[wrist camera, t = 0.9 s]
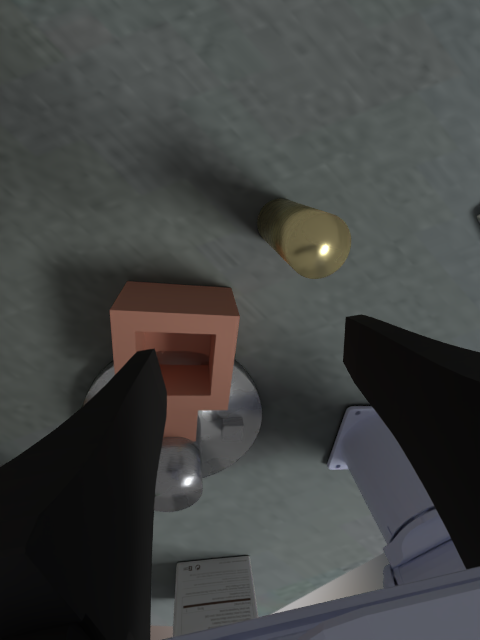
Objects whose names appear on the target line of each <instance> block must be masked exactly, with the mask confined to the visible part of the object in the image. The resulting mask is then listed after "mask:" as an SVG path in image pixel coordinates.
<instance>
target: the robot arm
mask: <svg viewBox="0 0 480 640" xmlns="http://www.w3.org/2000/svg"><path fill="white" fill-rule="evenodd" d="M343 362H344V364H345V366H346V368H347V370H348V372H349V374H350V376H351V377H352V379H353V381H354V383H355V384H356V386H357V387H358V388H359V390H360V391H361V392H362V394H363V395H364V397H365V398H366V399H367V401H368V402H369V403H370V405H371V406H351V407H349V408H347V410H346V412H345V415H344V418H343V420H342V423H341V426H340V429H339V432H338V435H337V437H336V440H335V443H334V446H333V449H332V452H331V454H330V457H329V460H328V463H327V466H328V468H329V469H331V470H337V469H349V471H350V473H351V475H352V477H353V478H354V480H355V482H356V484H357V486H358V488H359V490H360V492H361V494H362V496H363V498H364V500H365V502H366V504H367V506H368V508H369V510H370V512H371V514H372V515H373V517H374V519H375V521H376V523H377V525H378V527H379V529H380V531H381V533H382V535H383V537H384V539H385V541H386V543H387V546H385V547H384V548H383V550H384V553H385V554H386V557H387V558H388V561H389V563H390V564H388V565H386V566H385V567H384V570H383V575H384V579H383V587H384V589H380V590H375V591H371V592H367V593H362V594H358V595H354V596H350V597H345V598H340V599H336V600H332V601H327V602H324V603H319V604H315V605H311V606H306V607H302V608H298V609H293V610H289V611H284V612H280V613H275V614H271V615H267V616H262V617H258V618H254V619H249V620H245V621H241V622H236V623H232V624H228V625H223V626H219V627H215V628H210V629H206V630H202V631H197V632H193V633H189V634H184V635H180V636H176V637H171V638H168V639H163V640H480V352H476V351H472V350H468V349H464V348H460V347H457V346H453V345H450V344H446V343H443V342H440V341H437V340H434V339H431V338H428V337H425V336H422V335H419V334H416V333H413V332H410V331H408V330H405V329H402V328H399V327H397V326H394V325H391V324H389V323H386V322H383V321H381V320H378V319H375V318H372V317H369V316H365V315H356V316H350V317H346V323H345V339H344V355H343ZM166 416H167V390H166V387H165V383H164V380H163V376H162V373H161V369H160V366H159V362H158V359H157V355H156V352H155V348H154V349H147V350H141V351H137V352H136V353H135V354H134V355H133V356H132V357H131V358H130V359H129V360H128V361H127V363H126V364H125V365H124V366H123V367H122V368H121V369H120V370H119V371H118V372H117V373H116V374H115V375H114V376H113V378H112V379H111V380H110V381H109V382H108V383H107V384H106V385H105V386H104V387H103V388H102V389H101V390H100V391H99V392H98V393H97V394H96V395H94V396H93V397H92V398H91V399H90V400H89V401H88V402H87V403H86V404H85V405H84V406H83V407H82V408H81V409H80V410H78V411H77V412H76V413H75V414H74V415H73V416H71V417H70V418H69V419H68V420H66V421H65V422H64V423H63V424H61V425H60V426H59V427H58V428H56V429H55V430H54V431H52V432H51V433H50V434H48V435H47V436H46V437H44V438H43V439H41V440H40V441H38V442H37V443H36V444H34V445H33V446H31V447H30V448H29V449H27V450H26V451H24V452H23V453H22V454H20V455H19V456H17V457H16V458H14V459H12V460H11V461H9V462H8V463H6V464H5V465H3V466H2V467H0V640H150V612H151V567H152V540H153V518H154V502H155V487H156V479H157V472H158V466H159V460H160V454H161V448H162V442H163V436H164V429H165V423H166Z"/></svg>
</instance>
